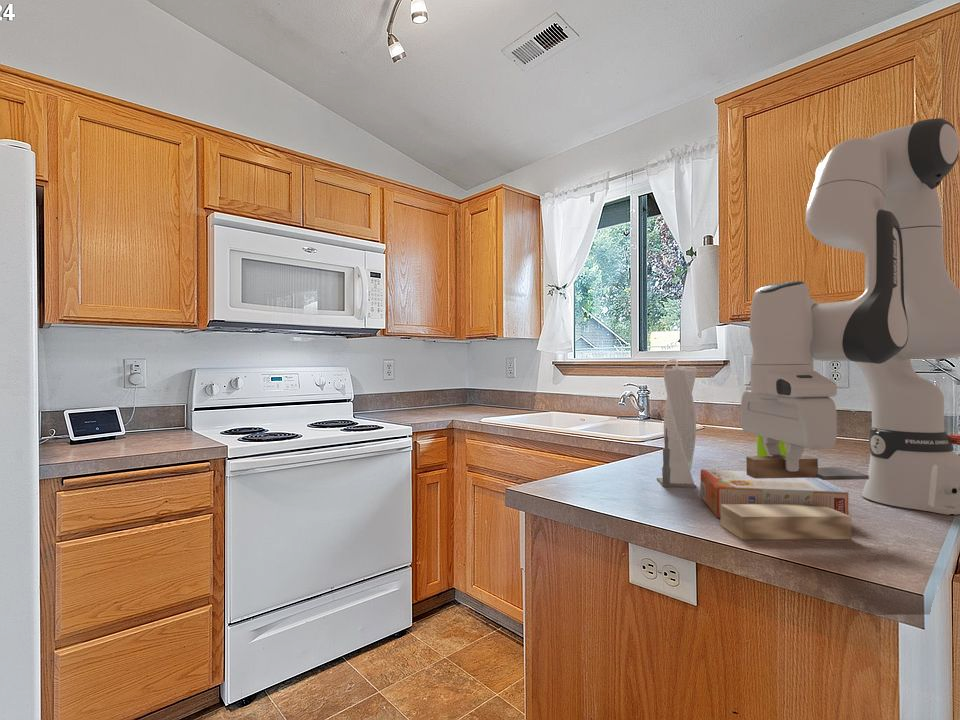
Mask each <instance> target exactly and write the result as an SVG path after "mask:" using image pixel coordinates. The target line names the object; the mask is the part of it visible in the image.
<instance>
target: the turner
mask: <svg viewBox="0 0 960 720" xmlns="http://www.w3.org/2000/svg"><path fill="white" fill-rule="evenodd" d="M785 458H786V456H757V455H756V456H755V455H754V456H746V457H745V459H746V471H747V475H748V476H750V477H753V478H755V479H758V478H819V479H822V480H826V481H837V480H838V481H839V480H841V481H842V480H843V481H849V480H851V481H853V480H855V481H857V480H867V479H869V475H868V474H865V473H862V472H859V471H856V470H852V469H849V468H846V467H841V466H840V467H839V466H837V467H835V466H833V467H831V466H830V467H819V461H818V460H819V459H818V458H817V457H814V456H810V455H802V456H801V458H800V460H799V470H798V471H787V470H785V469H783V467H782V465H783V463H782V459H785Z"/></svg>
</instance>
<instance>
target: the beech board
mask: <svg viewBox="0 0 960 720" xmlns="http://www.w3.org/2000/svg"><path fill="white" fill-rule="evenodd" d="M720 526H721V527H723V528H724V529H726V530H727V531H729V532H730V533H732V534H733V535H734V536H736V537H737V538H740V539H741V540H852V516H851V515H850V514H849V515H846V514H844V513H841V512H839V511H836V510H834V509H831V508H829V507H826V506H824V505H822V504H721V518H720Z"/></svg>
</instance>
